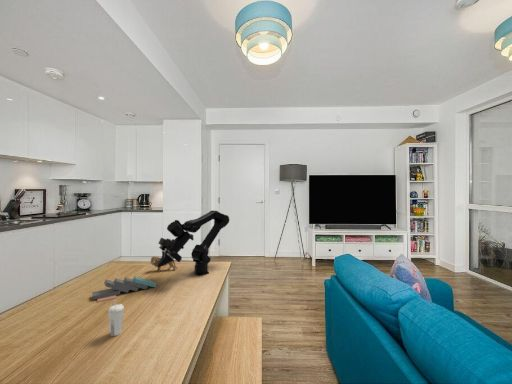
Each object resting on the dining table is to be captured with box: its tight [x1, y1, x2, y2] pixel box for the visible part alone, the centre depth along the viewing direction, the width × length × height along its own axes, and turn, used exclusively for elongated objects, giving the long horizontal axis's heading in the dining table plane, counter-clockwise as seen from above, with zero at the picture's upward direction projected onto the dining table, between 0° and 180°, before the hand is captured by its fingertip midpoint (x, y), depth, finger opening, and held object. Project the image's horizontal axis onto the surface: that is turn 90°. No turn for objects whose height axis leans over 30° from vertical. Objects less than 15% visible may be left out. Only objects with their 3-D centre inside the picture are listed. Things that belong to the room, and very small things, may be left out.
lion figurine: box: [150, 255, 178, 273], centre depth 144 cm, size 15×5×9 cm, turn 119°
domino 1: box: [91, 288, 121, 301], centre depth 109 cm, size 2×5×10 cm
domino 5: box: [132, 275, 158, 288], centre depth 119 cm, size 2×5×10 cm
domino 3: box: [113, 277, 140, 292], centre depth 114 cm, size 2×5×10 cm
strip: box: [96, 295, 117, 303], centre depth 109 cm, size 7×10×1 cm
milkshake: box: [107, 299, 125, 337], centre depth 81 cm, size 4×5×10 cm
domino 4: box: [122, 277, 149, 290], centre depth 116 cm, size 2×5×10 cm
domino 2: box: [103, 278, 130, 294], centre depth 112 cm, size 2×5×10 cm
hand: (157, 266), depth 123 cm, fingers closed
